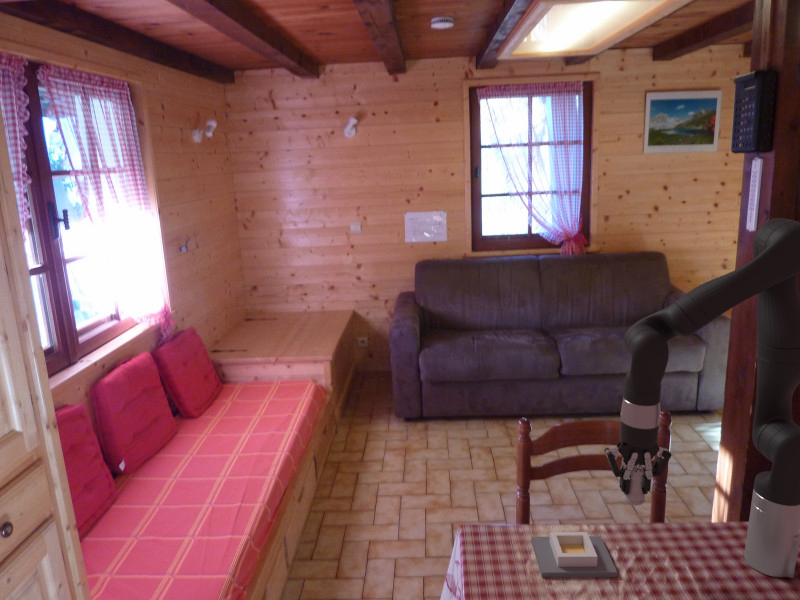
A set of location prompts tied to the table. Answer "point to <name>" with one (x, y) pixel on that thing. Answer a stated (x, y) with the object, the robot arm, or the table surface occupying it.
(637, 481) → the rook chess piece
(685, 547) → the table surface
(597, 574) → the square frame on plate
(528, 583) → the table surface
